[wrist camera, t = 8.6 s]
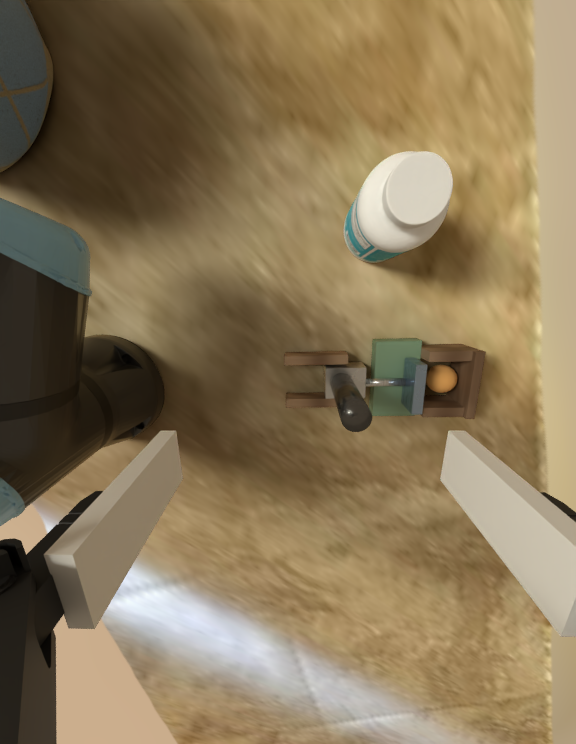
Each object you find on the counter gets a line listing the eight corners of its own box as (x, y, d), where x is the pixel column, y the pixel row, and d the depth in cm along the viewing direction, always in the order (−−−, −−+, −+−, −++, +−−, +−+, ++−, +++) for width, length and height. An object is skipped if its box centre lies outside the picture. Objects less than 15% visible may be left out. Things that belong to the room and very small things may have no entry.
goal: (409, 403, 39) (424, 419, 34) (415, 344, 36) (432, 353, 32) (452, 402, 38) (474, 418, 33) (461, 343, 36) (485, 351, 31)
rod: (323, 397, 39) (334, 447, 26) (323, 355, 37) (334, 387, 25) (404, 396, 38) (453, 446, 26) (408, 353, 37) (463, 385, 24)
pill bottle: (418, 212, 32) (497, 158, 19) (385, 273, 34) (437, 263, 21) (360, 182, 32) (402, 105, 19) (331, 246, 34) (349, 218, 21)
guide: (287, 400, 39) (286, 407, 37) (285, 352, 37) (284, 356, 35) (344, 400, 39) (346, 407, 37) (345, 351, 37) (348, 354, 35)
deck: (369, 409, 39) (372, 415, 37) (372, 339, 36) (376, 341, 34) (409, 409, 39) (414, 415, 37) (415, 338, 36) (422, 340, 34)
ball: (458, 391, 36) (429, 385, 38) (462, 364, 35) (432, 360, 38) (451, 399, 34) (419, 392, 36) (454, 370, 33) (422, 365, 35)
